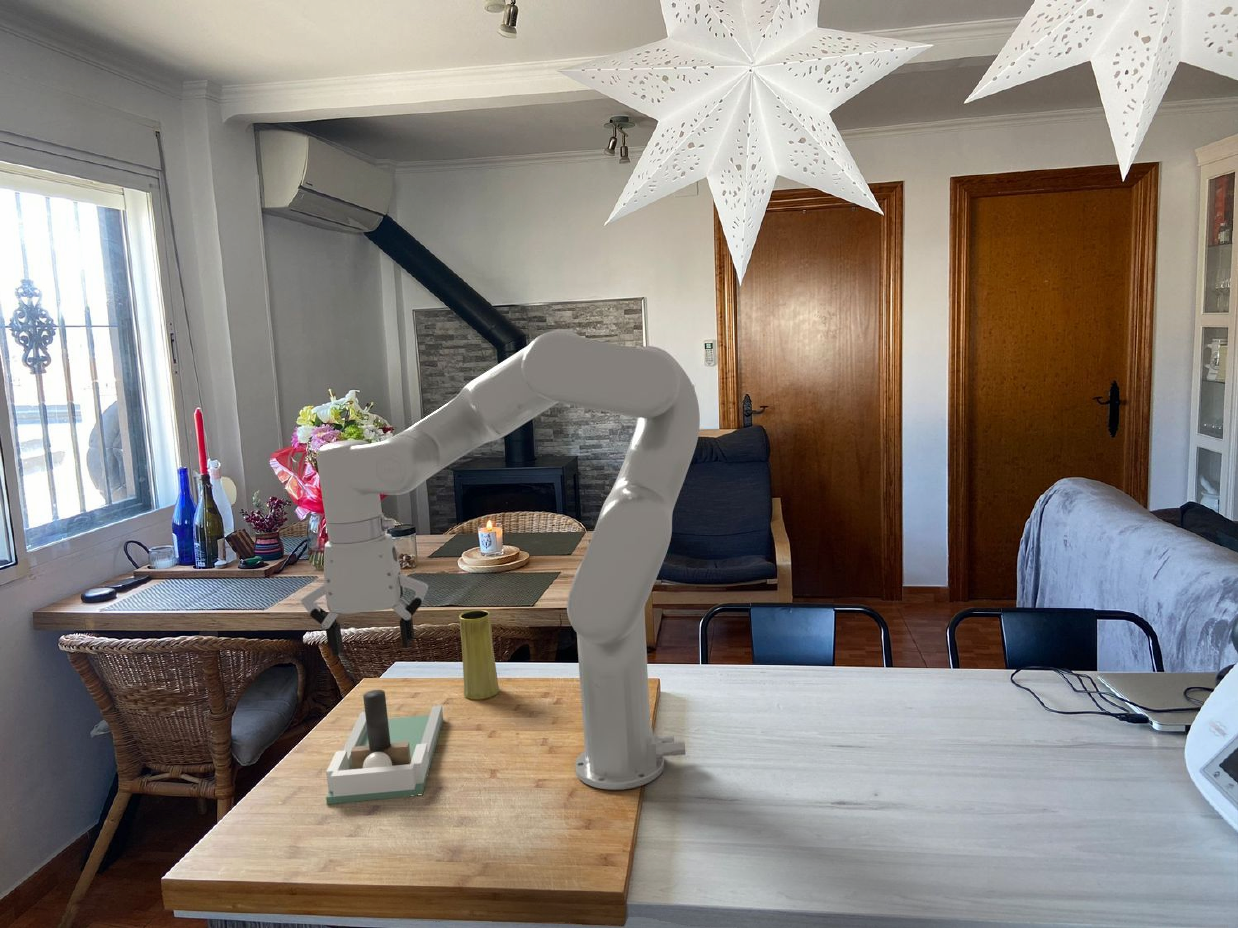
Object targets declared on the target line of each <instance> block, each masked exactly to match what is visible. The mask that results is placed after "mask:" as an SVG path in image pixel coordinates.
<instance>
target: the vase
mask: <svg viewBox="0 0 1238 928" xmlns="http://www.w3.org/2000/svg"><path fill="white" fill-rule="evenodd" d="M458 619H459V631H460V639H461V640H460V641H461V654H462V671H463V672H462V674H463V676H462V677H463V678H462V679H463V696H464V697H465V698H466V699H467V700H468V699H469V700H472V701H473V700H474V701H481V700H486V699H490V698H493V697H494V696H496V695H498V693H499V691H500V687H499V681H498V675H497V674H498V673H497V668H496V667H497V666H496V660H495V659H496V658H495V653H494V644H493V632H492V631H493V630H492V619H491V612H490V611H488V610H486V609H472V610H467V611H464V612H462V613H460V614H459V616H458Z"/></svg>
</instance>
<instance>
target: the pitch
mask: <svg viewBox="0 0 1238 928" xmlns="http://www.w3.org/2000/svg"><path fill="white" fill-rule="evenodd" d="M443 721H444V713H443V705H442V704H441V705H440V704H439V705H432V706H431V711H430V713H429V714H426V715H425V714H424V715H415V716H413V715H412V716H403V717H393V718H392V717H391V718H388V725H389V734H390V743H401V742H409V747H410V756H411V763H410V764H407V765H396V766H385V767H373V768H362V769H353V767H352V758H351V750H352V748H353V747H355V746H367V745H369V742H368V733H367V724H366V716H365V711H362V712H360V713H359V716H358V717H357V719H356V722H355V724H354V726H353V728H352V730H351V731H350V734H349V736H348V739H347V740H346V743H345V744H344V746H343V750H338V751H337V750H336V752H335V753H334V755H333V757H332V759H331V761H330V763H329V765H328V767H327V769H326V771H325V772H326V781H327V789H328V792H327V794H326V796H325V800H326V801H325V802H326V805H331V804H333V805H334V804H342V803H344V804H345V803H354V802H355V803H356V802H365V801H366V800H367V801H375V800H374V799H378V800H388V798H389V799H398V798H397V797H400V798H405V797H404V796H411V795H418V794H424V792H423V790H424V791H425V788H424V786H425V787H426V784H427V781H426V779H427V780H428V777H427V775H429V773H428V771H429V772H430V770H429V768H430V769H431V766H430V764H431V765H432V762H433V759H432V757H433V758H434V755H433V754H434V753H435V752H436V748H435V747H437V744H436V743H438V741H437V740H439V737H440V733H441V730H440V729H441V728H442V726H443V723H444V722H443ZM431 761H432V762H431ZM425 783H426V784H425ZM393 797H395V798H393ZM411 797H412V796H411ZM372 799H373V800H372ZM367 801H366V802H367Z"/></svg>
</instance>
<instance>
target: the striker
mask: <svg viewBox="0 0 1238 928" xmlns="http://www.w3.org/2000/svg"><path fill="white" fill-rule="evenodd" d="M362 696H363V705H364V712H365V716H366V724H367V733H368V742H369V745H367V746H355V747H353V748H352V750H351V758H352V767H353V769H362V768H363V763H364V761H365V759H366V758H367V757H368V756H369V755H370V754H372V753H374V752H383V753H385V754H387V755H388V756H389V757H390V759H391V761H392V766H396V765H407V764H410V763H411V756H410V747H409V742H401V743H390V734H389V725H388V719H389V718H388V717H389V716H388V708H387V699H386V698H387V697H386V692H385V690H382V689H373V690H372V689H371V690H369V691H366V692H365V693H363V694H362Z"/></svg>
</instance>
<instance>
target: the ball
mask: <svg viewBox="0 0 1238 928" xmlns="http://www.w3.org/2000/svg"><path fill="white" fill-rule="evenodd" d="M385 766H392V761H391V759H390V757H389V756H388V755H387V754H385V753H383V752H374V753H372V754H370V755H369V756H368V757H367V758H366V759H365V761H364V763H363V768H373V767H385Z"/></svg>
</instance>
